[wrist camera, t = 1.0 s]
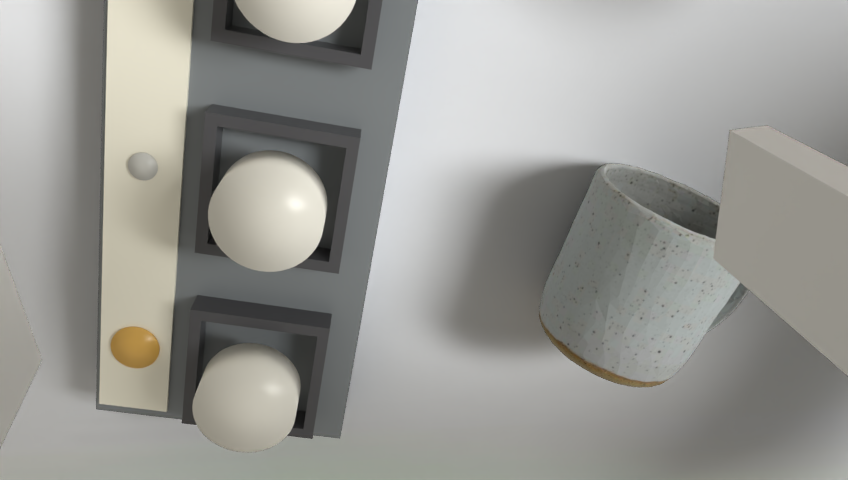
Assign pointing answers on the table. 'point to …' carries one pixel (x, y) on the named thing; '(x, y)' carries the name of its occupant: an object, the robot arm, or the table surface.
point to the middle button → (268, 211)
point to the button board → (201, 174)
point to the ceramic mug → (637, 278)
